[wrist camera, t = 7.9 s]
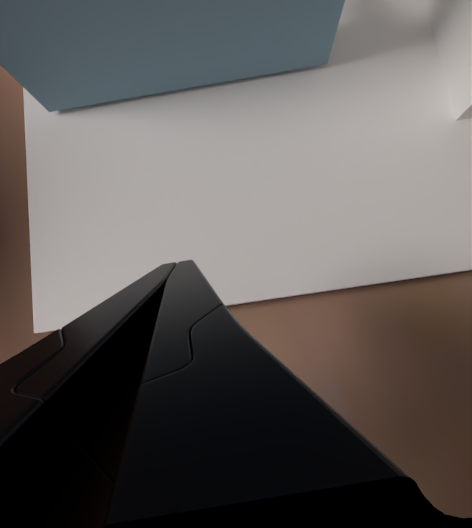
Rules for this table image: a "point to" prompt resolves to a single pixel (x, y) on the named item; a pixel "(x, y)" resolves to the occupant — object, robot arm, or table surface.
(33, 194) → the cabinet base
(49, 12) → the door panel
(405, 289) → the table surface
